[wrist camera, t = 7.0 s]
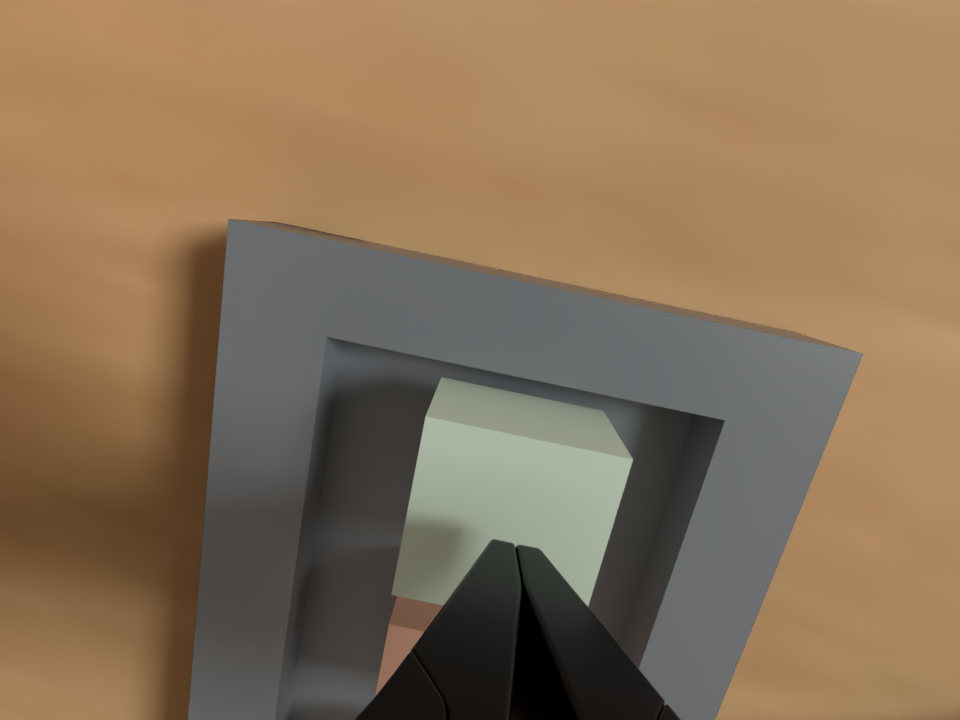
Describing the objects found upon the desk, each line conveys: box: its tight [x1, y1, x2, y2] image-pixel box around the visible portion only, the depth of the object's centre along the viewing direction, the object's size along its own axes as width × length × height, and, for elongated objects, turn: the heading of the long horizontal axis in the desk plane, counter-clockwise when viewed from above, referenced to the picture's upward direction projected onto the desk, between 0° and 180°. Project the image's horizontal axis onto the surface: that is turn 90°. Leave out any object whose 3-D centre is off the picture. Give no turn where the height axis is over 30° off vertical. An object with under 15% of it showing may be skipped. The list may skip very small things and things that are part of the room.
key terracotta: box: [375, 596, 443, 696], centre depth 13 cm, size 4×4×3 cm
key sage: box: [391, 377, 633, 606], centre depth 11 cm, size 4×4×3 cm
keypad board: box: [188, 219, 863, 720], centre depth 15 cm, size 25×14×2 cm, turn 168°
